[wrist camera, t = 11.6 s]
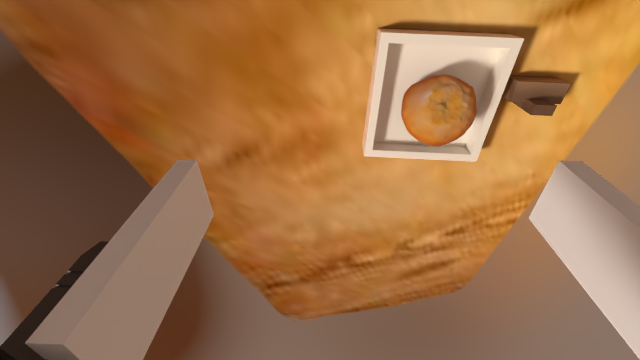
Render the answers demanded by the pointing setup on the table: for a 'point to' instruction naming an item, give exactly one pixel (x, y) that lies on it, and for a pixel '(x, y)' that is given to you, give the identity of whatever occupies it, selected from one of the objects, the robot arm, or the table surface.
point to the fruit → (438, 109)
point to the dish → (424, 62)
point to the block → (536, 93)
